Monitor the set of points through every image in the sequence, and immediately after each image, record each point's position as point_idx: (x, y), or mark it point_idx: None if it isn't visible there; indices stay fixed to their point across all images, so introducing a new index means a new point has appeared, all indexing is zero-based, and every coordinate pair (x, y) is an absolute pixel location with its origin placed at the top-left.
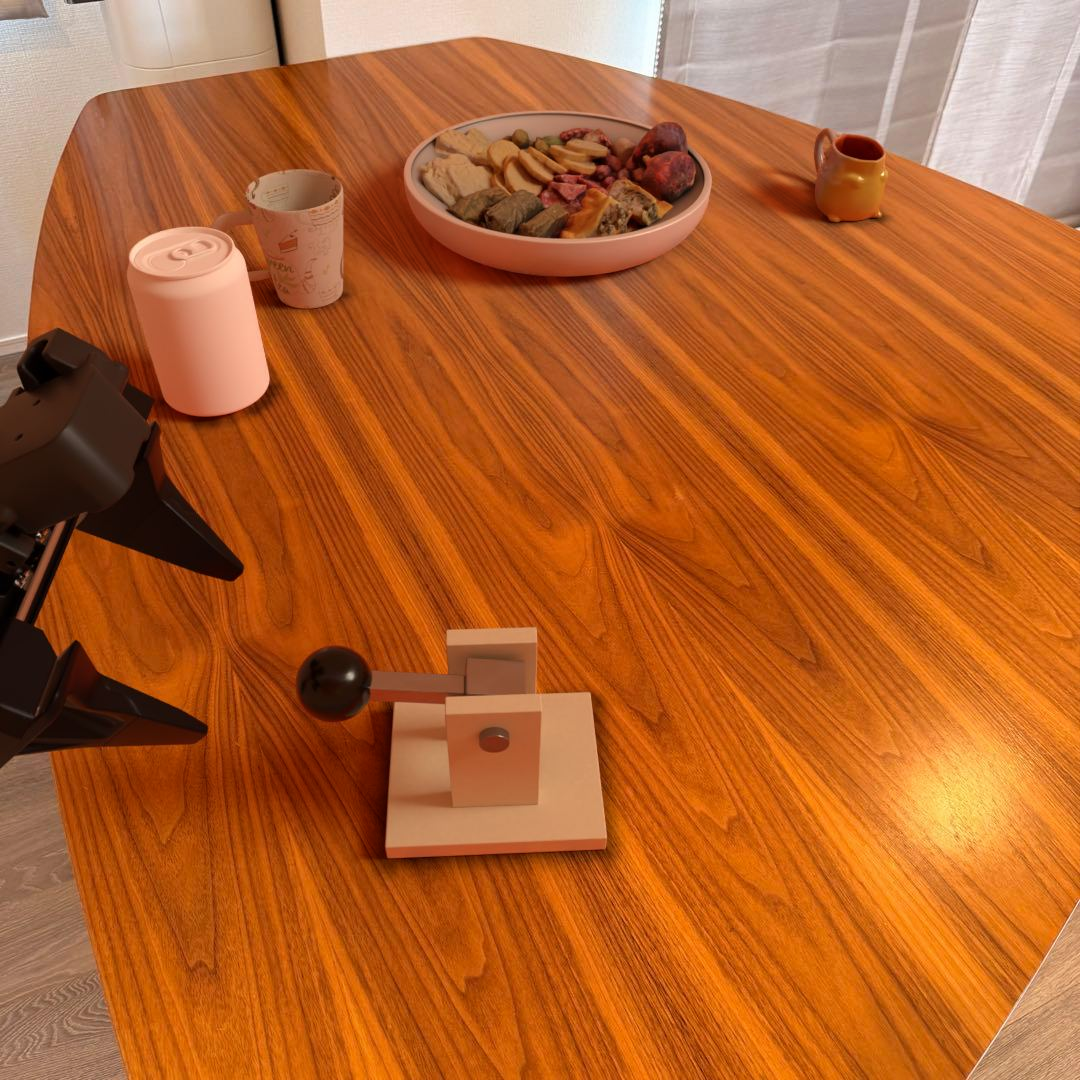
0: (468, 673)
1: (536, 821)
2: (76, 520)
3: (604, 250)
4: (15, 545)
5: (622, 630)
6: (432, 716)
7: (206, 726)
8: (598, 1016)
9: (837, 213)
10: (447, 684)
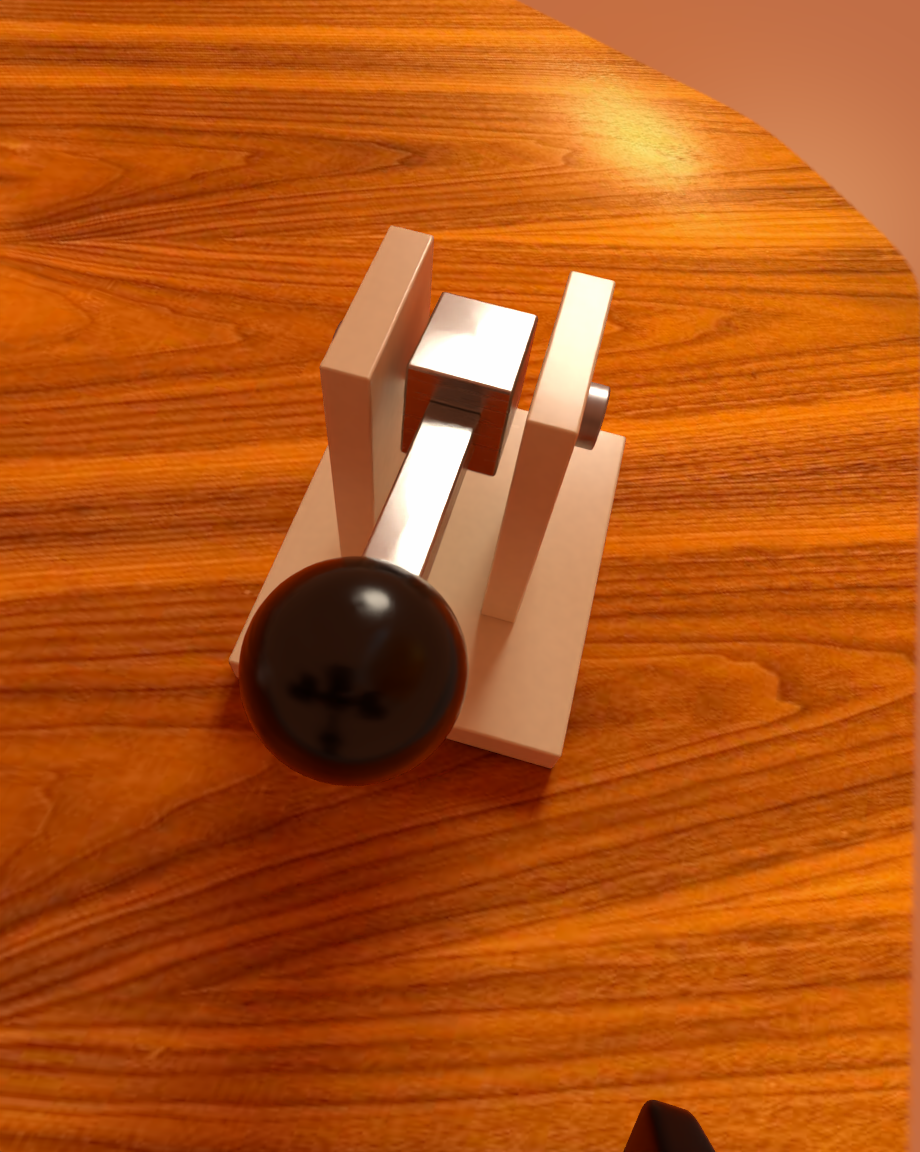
0: (454, 375)
1: (575, 512)
2: None
3: None
4: None
5: (245, 306)
6: None
7: (667, 1107)
8: (849, 549)
9: None
10: (448, 434)
